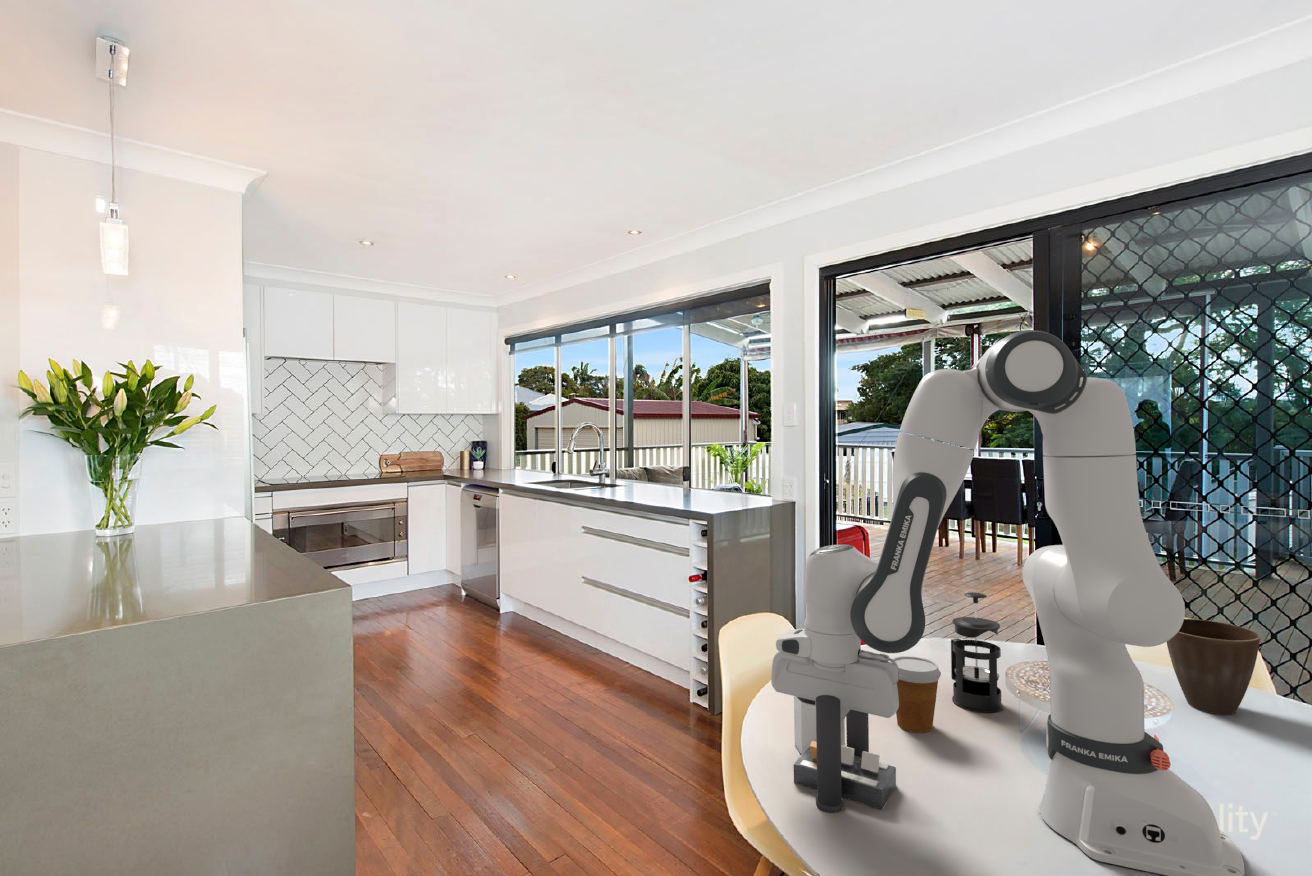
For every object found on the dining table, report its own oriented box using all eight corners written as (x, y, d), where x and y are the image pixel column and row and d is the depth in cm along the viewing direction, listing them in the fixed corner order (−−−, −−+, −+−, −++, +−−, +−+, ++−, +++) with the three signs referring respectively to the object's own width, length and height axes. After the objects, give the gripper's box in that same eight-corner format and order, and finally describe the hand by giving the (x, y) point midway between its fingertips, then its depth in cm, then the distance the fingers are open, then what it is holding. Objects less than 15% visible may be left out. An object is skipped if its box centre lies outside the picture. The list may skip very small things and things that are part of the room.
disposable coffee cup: (890, 733, 120) (889, 669, 120) (887, 712, 129) (886, 653, 129) (945, 740, 117) (944, 674, 117) (938, 718, 126) (937, 657, 126)
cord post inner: (873, 763, 109) (871, 670, 109) (866, 774, 105) (864, 677, 105) (850, 757, 111) (848, 665, 111) (842, 767, 108) (841, 672, 108)
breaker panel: (896, 785, 102) (895, 765, 102) (882, 810, 95) (881, 788, 95) (811, 761, 110) (811, 743, 110) (793, 782, 103) (793, 762, 103)
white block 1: (853, 764, 102) (854, 748, 103) (850, 765, 101) (852, 749, 102) (838, 760, 104) (839, 744, 104) (836, 761, 103) (837, 745, 103)
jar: (819, 766, 108) (818, 695, 108) (785, 747, 115) (784, 680, 115) (854, 751, 113) (853, 684, 113) (819, 734, 120) (818, 670, 120)
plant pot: (1254, 731, 119) (1253, 645, 119) (1155, 706, 130) (1154, 628, 130) (1267, 709, 128) (1266, 629, 128) (1174, 687, 140) (1172, 614, 140)
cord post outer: (846, 803, 97) (845, 698, 97) (838, 815, 94) (836, 707, 94) (821, 794, 99) (820, 692, 99) (812, 807, 96) (810, 701, 96)
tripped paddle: (828, 756, 104) (826, 744, 104) (825, 761, 103) (823, 749, 103) (814, 752, 106) (812, 740, 105) (811, 757, 105) (809, 745, 104)
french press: (1016, 711, 129) (1014, 597, 129) (978, 717, 126) (976, 601, 126) (972, 689, 140) (970, 585, 140) (936, 694, 137) (935, 588, 137)
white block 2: (878, 771, 100) (879, 755, 101) (876, 772, 99) (877, 755, 100) (863, 767, 101) (864, 751, 102) (860, 768, 100) (862, 751, 101)
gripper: (903, 651, 100) (904, 739, 100) (782, 629, 112) (782, 708, 112) (893, 663, 95) (893, 755, 95) (766, 639, 106) (767, 721, 106)
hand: (832, 730), depth 103 cm, fingers closed
